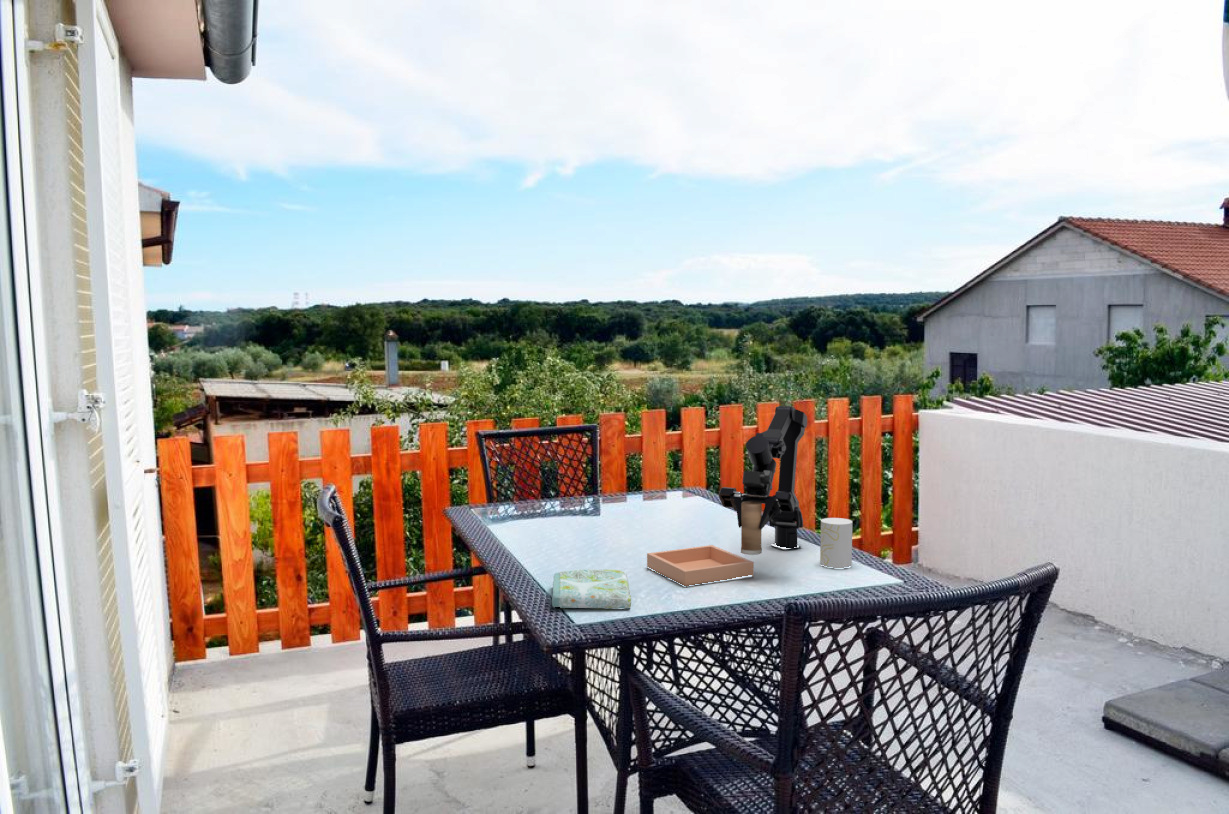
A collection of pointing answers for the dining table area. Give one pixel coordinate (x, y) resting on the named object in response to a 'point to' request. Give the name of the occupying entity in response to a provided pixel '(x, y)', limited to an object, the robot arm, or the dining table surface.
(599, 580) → the towel
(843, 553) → the light grey cylinder
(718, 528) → the dining table surface
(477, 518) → the dining table surface
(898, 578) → the dining table surface
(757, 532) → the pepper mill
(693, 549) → the bin
